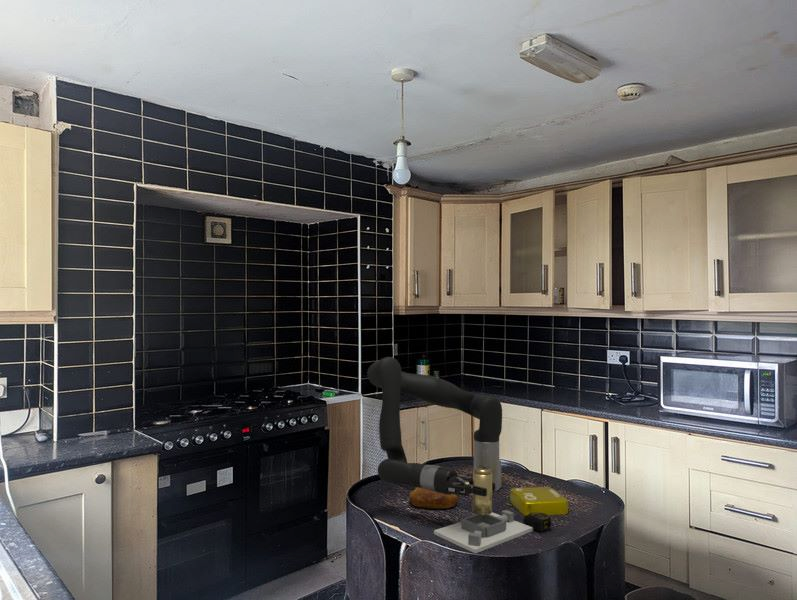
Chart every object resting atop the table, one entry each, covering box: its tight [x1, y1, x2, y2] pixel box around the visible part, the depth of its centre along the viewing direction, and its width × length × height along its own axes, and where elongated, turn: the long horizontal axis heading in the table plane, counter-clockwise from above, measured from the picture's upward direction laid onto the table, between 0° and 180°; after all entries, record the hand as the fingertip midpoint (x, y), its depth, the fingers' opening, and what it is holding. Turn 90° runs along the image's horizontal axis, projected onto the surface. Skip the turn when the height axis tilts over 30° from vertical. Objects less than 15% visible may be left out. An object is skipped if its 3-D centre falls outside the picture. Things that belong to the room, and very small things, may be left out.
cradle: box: [433, 509, 534, 554], centre depth 153 cm, size 24×16×4 cm, turn 128°
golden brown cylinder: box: [472, 467, 493, 515], centre depth 153 cm, size 6×6×12 cm
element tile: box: [509, 486, 569, 516], centre depth 174 cm, size 15×15×5 cm
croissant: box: [408, 487, 458, 509], centre depth 178 cm, size 15×16×8 cm
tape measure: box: [522, 512, 552, 532], centre depth 157 cm, size 7×7×4 cm
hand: (490, 489), depth 152 cm, fingers closed on golden brown cylinder, 5 cm apart
